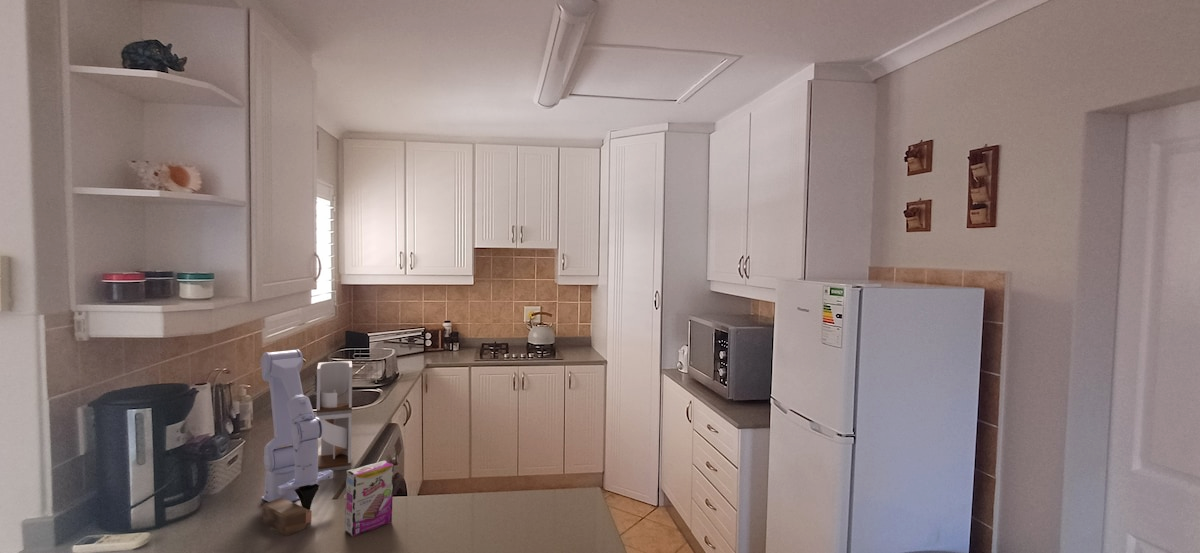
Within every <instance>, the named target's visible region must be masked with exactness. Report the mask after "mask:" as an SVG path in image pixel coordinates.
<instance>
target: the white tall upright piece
mask: <svg viewBox="0 0 1200 553" xmlns="http://www.w3.org/2000/svg"><path fill="white" fill-rule="evenodd" d="M316 368H317V369H316V415H317V417H318V418H319V419H320V420H321V423H322V436H321V437H320V438H321V439H320V440H321V442H320V443H321V444H320V445H321V448H320V449H321V450H320V454H318V472H322V471H326V470H331V471H333V472H335V471H336V472H337V471H344V470H351V469H352V427H353V426H352V424H353V423H352V421H353V420H352V418H353V417H352V414H353V411H352V410H353V406H352V405H353V362H352V360H346V361H345V360H344V361H342V360H341V361H328V362H327V361H325V362H324V361H323V362H322V361H321V362H318V363H317V367H316Z"/></svg>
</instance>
